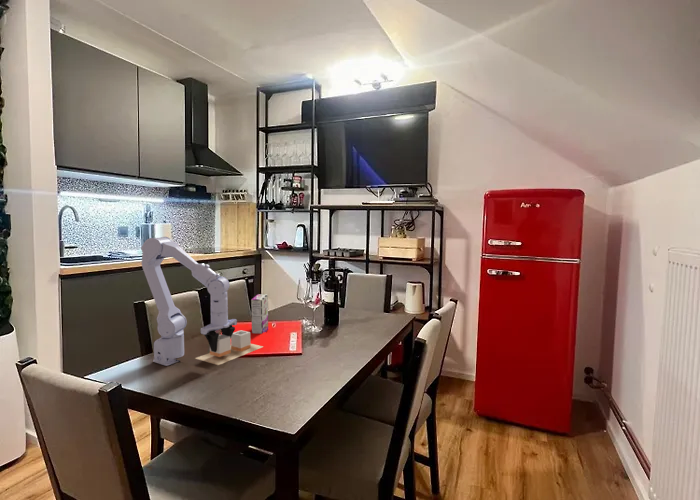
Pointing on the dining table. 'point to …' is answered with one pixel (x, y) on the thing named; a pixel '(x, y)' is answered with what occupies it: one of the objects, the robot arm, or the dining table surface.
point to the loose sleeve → (222, 346)
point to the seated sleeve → (240, 340)
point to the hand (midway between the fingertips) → (219, 349)
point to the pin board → (227, 355)
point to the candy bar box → (259, 313)
